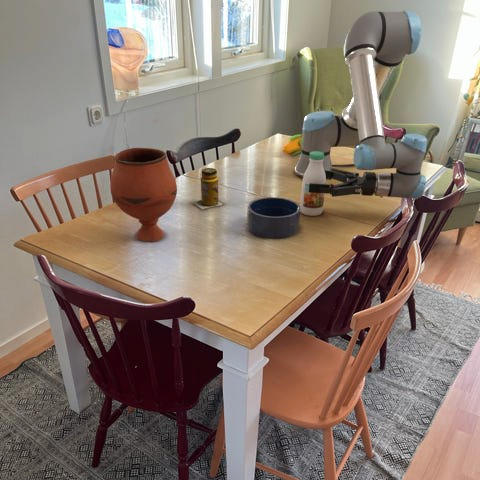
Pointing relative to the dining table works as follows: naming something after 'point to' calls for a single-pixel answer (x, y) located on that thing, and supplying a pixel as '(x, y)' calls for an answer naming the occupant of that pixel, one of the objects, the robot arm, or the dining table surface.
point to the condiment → (208, 189)
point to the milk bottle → (315, 175)
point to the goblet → (144, 188)
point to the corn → (293, 145)
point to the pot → (273, 217)
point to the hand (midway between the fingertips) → (309, 180)
